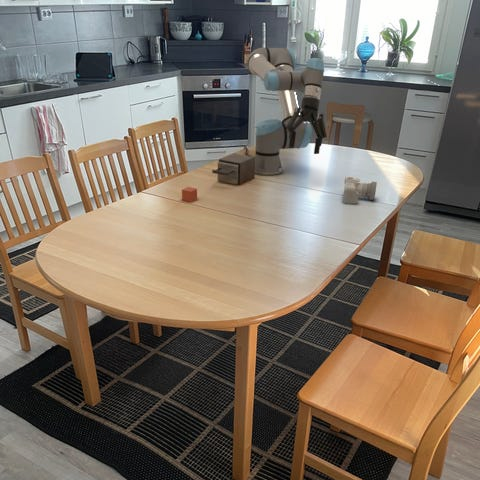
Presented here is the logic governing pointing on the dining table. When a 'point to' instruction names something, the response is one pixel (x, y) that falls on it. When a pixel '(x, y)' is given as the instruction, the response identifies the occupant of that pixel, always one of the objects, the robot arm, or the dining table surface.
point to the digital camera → (357, 190)
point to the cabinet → (242, 166)
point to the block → (189, 194)
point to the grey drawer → (227, 172)
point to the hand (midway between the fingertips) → (304, 150)
